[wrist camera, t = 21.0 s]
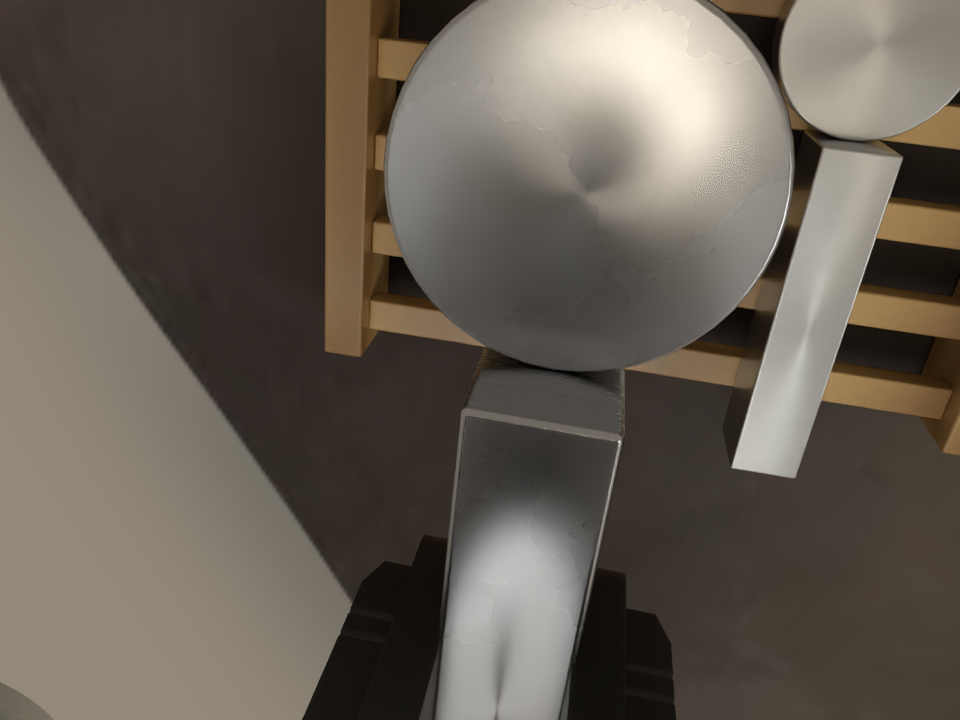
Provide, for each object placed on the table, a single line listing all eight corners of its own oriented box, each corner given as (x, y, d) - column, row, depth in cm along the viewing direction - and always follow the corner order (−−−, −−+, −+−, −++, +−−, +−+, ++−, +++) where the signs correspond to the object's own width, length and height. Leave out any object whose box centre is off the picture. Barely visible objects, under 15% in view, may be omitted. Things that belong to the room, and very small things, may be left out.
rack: (353, 315, 27) (323, 352, 24) (362, -100, 21) (324, -110, 19) (947, 408, 25) (985, 460, 22) (1132, -24, 19) (1213, -23, 17)
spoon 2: (799, -73, 18) (820, -79, 16) (1000, -54, 17) (1047, -58, 16) (678, 421, 24) (683, 461, 22) (825, 445, 24) (843, 487, 22)
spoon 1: (414, -57, 8) (351, -65, 7) (830, -12, 8) (894, -7, 6) (373, 749, 15) (334, 867, 13) (607, 800, 14) (604, 931, 12)
